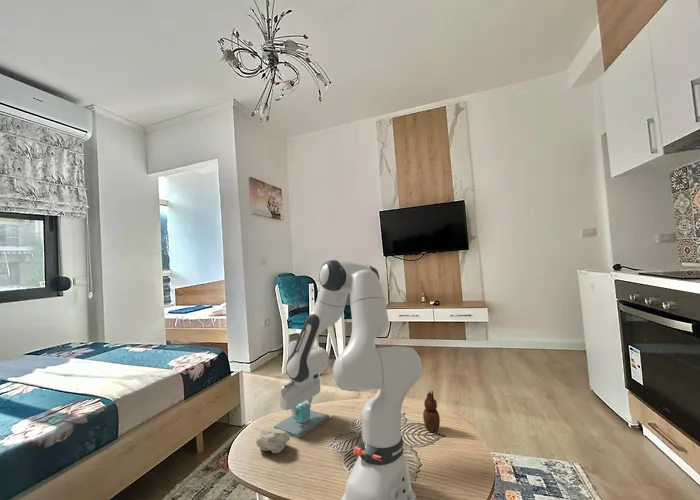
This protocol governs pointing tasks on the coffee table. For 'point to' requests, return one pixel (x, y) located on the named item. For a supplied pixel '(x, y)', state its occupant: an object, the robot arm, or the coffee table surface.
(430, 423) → the wooden figurine
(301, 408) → the teal slotted cube
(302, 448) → the coffee table surface
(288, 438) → the fossil replica
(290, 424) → the toggle switch board
